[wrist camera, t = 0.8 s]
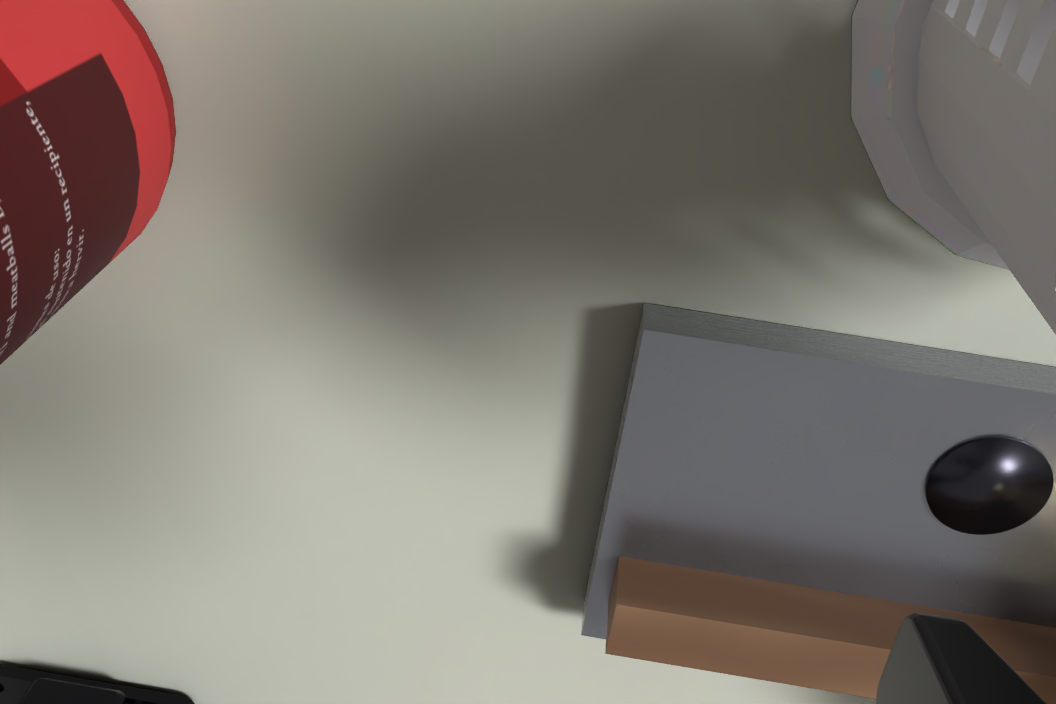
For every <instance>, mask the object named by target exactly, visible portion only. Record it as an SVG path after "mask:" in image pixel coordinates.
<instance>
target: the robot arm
mask: <svg viewBox="0 0 1056 704" xmlns="http://www.w3.org/2000/svg"><path fill="white" fill-rule="evenodd" d="M0 704H194V702H193V701H192V700H190V699H188V698H187V697H184V696H181V695H176V694H170V693H164V692H158V691H152V690H147V689H141V688H135V687H129V686H123V685H117V684H112V683H106V682H100V681H94V680H88V679H82V678H77V677H71V676H65V675H59V674H53V673H47V672H42V671H36V670H30V669H24V668H18V667H12V666H7V665H0ZM876 704H1047V703H1046V702H1045V701H1044V700H1043V699H1042V698H1041V697H1040V696H1039V695H1038V694H1037V693H1036V692H1035V691H1034V690H1033V689H1032V688H1031V687H1030V686H1029V685H1028V684H1027V683H1026V682H1025V681H1024V680H1023V679H1022V678H1021V677H1020V676H1019V675H1018V674H1017V673H1016V672H1015V671H1014V670H1013V669H1012V668H1011V667H1010V666H1009V665H1008V664H1007V662H1006V661H1005V660H1004V659H1003V658H1002V657H1001V656H1000V655H999V654H998V653H997V652H996V651H995V650H994V649H993V648H992V647H991V646H990V645H989V644H988V643H987V642H986V641H985V640H984V639H983V638H982V637H981V636H980V635H979V634H978V633H977V632H976V631H975V630H974V629H973V628H972V627H971V626H970V625H969V624H967V623H966V622H965V621H963V620H961V619H958V618H955V617H947V616H940V615H932V614H925V613H912V614H910V615H908V616H907V617H906V618H905V619H904V620H903V622H902V624H901V626H900V628H899V630H898V633H897V636H896V638H895V641H894V644H893V646H892V649H891V652H890V654H889V657H888V660H887V662H886V665H885V668H884V670H883V673H882V675H881V678H880V681H879V684H878V688H877V694H876Z"/></svg>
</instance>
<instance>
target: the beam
mask: <svg viewBox="0 0 1056 704" xmlns="http://www.w3.org/2000/svg"><path fill="white" fill-rule="evenodd" d="M912 613H925V614H932V615H940V616H947V617H955V618H958V619H961V620H963V621H965V622H966V623H967V624H969V625H970V626H971V627H972V628H973V629H974V630H975V631H976V632H977V633H978V634H979V635H980V636H981V637H982V638H983V639H984V640H985V641H986V642H987V643H988V644H989V645H990V646H991V647H992V648H993V649H994V650H995V651H996V652H997V653H998V654H999V655H1000V656H1001V657H1002V658H1003V659H1004V660H1005V661H1006V662H1007V664H1008V665H1009V666H1010V667H1011V668H1012V669H1013V670H1014V671H1015V672H1016V673H1017V674H1018V675H1019V676H1020V677H1021V678H1022V679H1023V680H1024V681H1025V682H1026V683H1027V684H1028V685H1029V686H1030V687H1031V688H1032V689H1033V690H1034V691H1035V692H1036V693H1037V694H1038V695H1039V696H1040V697H1041V698H1042V699H1043V700H1044V701H1045V702H1046V703H1047V704H1056V628H1053V627H1047V626H1041V625H1035V624H1029V623H1023V622H1017V621H1011V620H1004V619H998V618H992V617H986V616H980V615H974V614H968V613H962V612H956V611H950V610H944V609H938V608H931V607H925V606H919V605H913V604H907V603H901V602H895V601H889V600H883V599H877V598H871V597H864V596H858V595H852V594H846V593H840V592H834V591H828V590H822V589H816V588H810V587H804V586H798V585H791V584H785V583H779V582H773V581H767V580H761V579H755V578H749V577H743V576H737V575H731V574H725V573H718V572H712V571H706V570H700V569H694V568H688V567H682V566H676V565H670V564H664V563H658V562H651V561H645V560H639V559H633V558H627V557H621V556H619V558H618V562H617V567H616V571H615V576H614V580H613V585H612V589H611V594H610V598H609V603H608V618H607V636H606V654H611V655H617V656H623V657H629V658H635V659H641V660H647V661H653V662H659V663H665V664H671V665H677V666H683V667H689V668H695V669H700V670H706V671H712V672H718V673H724V674H730V675H736V676H742V677H748V678H754V679H760V680H766V681H772V682H778V683H784V684H790V685H796V686H802V687H808V688H814V689H820V690H826V691H832V692H838V693H844V694H850V695H856V696H862V697H868V698H873V699H876V694H877V688H878V684H879V681H880V678H881V675H882V673H883V670H884V668H885V665H886V662H887V660H888V657H889V654H890V652H891V649H892V646H893V644H894V641H895V638H896V636H897V633H898V630H899V628H900V626H901V624H902V622H903V620H904V619H905V618H906V617H907V616H908V615H910V614H912Z"/></svg>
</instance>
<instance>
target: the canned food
mask: <svg viewBox="0 0 1056 704" xmlns="http://www.w3.org/2000/svg"><path fill="white" fill-rule="evenodd" d="M175 135H176V128H175V118H174V108H173V99H172V95H171V92H170V88H169V85H168V82H167V78H166V75H165V72H164V68H163V65H162V63H161V61H160V59H159V57H158V55H157V53H156V51H155V49H154V47H153V45H152V43H151V41H150V39H149V37H148V35H147V33H146V31H145V29H144V28H143V27H142V25H141V24H140V23H139V21H138V20H137V18H136V17H135V16H134V14H133V13H132V12H131V10H130V9H129V7H128V6H127V5H126V3H125V2H124V1H123V0H0V364H2V363H3V362H4V361H5V360H6V359H7V358H8V357H9V356H10V355H11V354H12V353H13V352H14V351H15V350H17V349H18V348H19V347H20V346H21V345H22V344H23V343H24V342H25V341H26V340H27V339H28V338H29V337H30V336H32V335H33V334H34V333H35V332H36V331H37V330H38V329H39V328H40V327H41V326H42V325H43V324H44V323H45V322H47V321H48V320H49V319H50V318H51V317H52V316H53V315H54V314H55V313H56V312H57V311H58V310H59V309H61V308H62V307H63V306H64V305H65V304H66V303H67V302H68V301H69V300H70V299H71V298H72V297H73V296H74V295H76V294H77V293H78V292H79V291H80V290H81V289H82V288H83V287H84V286H85V285H86V284H87V283H88V282H89V281H91V280H92V279H93V278H94V277H95V276H96V275H97V274H98V273H99V272H100V271H101V270H102V269H103V268H104V267H106V266H107V265H108V264H109V263H110V262H111V261H112V260H113V259H114V258H115V257H116V256H117V255H118V254H120V253H121V252H122V251H123V250H124V249H125V248H126V247H127V246H128V245H129V244H130V243H131V242H132V241H133V240H135V239H136V238H137V237H138V236H139V235H140V234H141V232H142V231H143V229H144V228H145V226H146V225H147V224H148V222H149V221H150V219H151V218H152V216H153V215H154V213H155V212H156V210H157V208H158V205H159V203H160V200H161V197H162V194H163V191H164V189H165V186H166V183H167V180H168V177H169V173H170V170H171V166H172V162H173V153H174V144H175Z"/></svg>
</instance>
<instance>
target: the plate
mask: <svg viewBox="0 0 1056 704" xmlns="http://www.w3.org/2000/svg"><path fill="white" fill-rule="evenodd" d="M619 556H621V557H627V558H633V559H639V560H645V561H651V562H658V563H664V564H670V565H676V566H682V567H688V568H694V569H700V570H706V571H712V572H718V573H725V574H731V575H737V576H743V577H749V578H755V579H761V580H767V581H773V582H779V583H785V584H791V585H798V586H804V587H810V588H816V589H822V590H828V591H834V592H840V593H846V594H852V595H858V596H864V597H871V598H877V599H883V600H889V601H895V602H901V603H907V604H913V605H919V606H925V607H931V608H938V609H944V610H950V611H956V612H962V613H968V614H974V615H980V616H986V617H992V618H998V619H1004V620H1011V621H1017V622H1023V623H1029V624H1035V625H1041V626H1047V627H1053V628H1056V367H1052V366H1046V365H1039V364H1033V363H1026V362H1020V361H1014V360H1007V359H1001V358H994V357H988V356H981V355H975V354H969V353H962V352H956V351H949V350H943V349H937V348H930V347H924V346H917V345H911V344H904V343H898V342H892V341H885V340H879V339H872V338H866V337H859V336H853V335H847V334H840V333H834V332H827V331H821V330H815V329H808V328H802V327H795V326H789V325H782V324H776V323H770V322H763V321H757V320H750V319H744V318H737V317H731V316H725V315H718V314H712V313H705V312H699V311H693V310H686V309H680V308H673V307H667V306H660V305H654V304H648V303H644V307H643V312H642V317H641V322H640V327H639V332H638V337H637V342H636V347H635V352H634V357H633V362H632V367H631V372H630V377H629V382H628V386H627V391H626V396H625V401H624V406H623V411H622V416H621V421H620V426H619V431H618V436H617V441H616V446H615V451H614V456H613V461H612V466H611V471H610V475H609V480H608V485H607V490H606V495H605V500H604V505H603V510H602V515H601V520H600V525H599V530H598V535H597V540H596V545H595V550H594V555H593V560H592V564H591V569H590V574H589V579H588V584H587V589H586V594H585V599H584V608H583V620H582V632H581V635H584V636H590V637H596V638H602V639H606V636H607V618H608V603H609V598H610V594H611V589H612V585H613V580H614V576H615V571H616V567H617V562H618V558H619Z"/></svg>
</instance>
